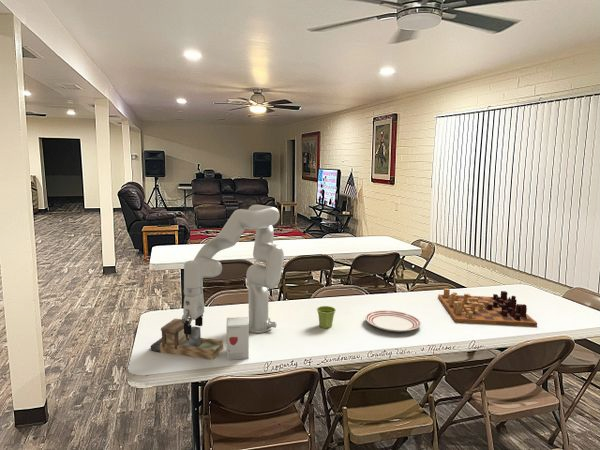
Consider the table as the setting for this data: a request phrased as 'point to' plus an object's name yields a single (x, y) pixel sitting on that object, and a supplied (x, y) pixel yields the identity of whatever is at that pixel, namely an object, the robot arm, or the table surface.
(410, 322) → the dinner plate
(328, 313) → the plant pot
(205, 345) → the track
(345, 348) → the table surface
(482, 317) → the gameboard
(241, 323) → the supplement box
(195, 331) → the beige and grey block
